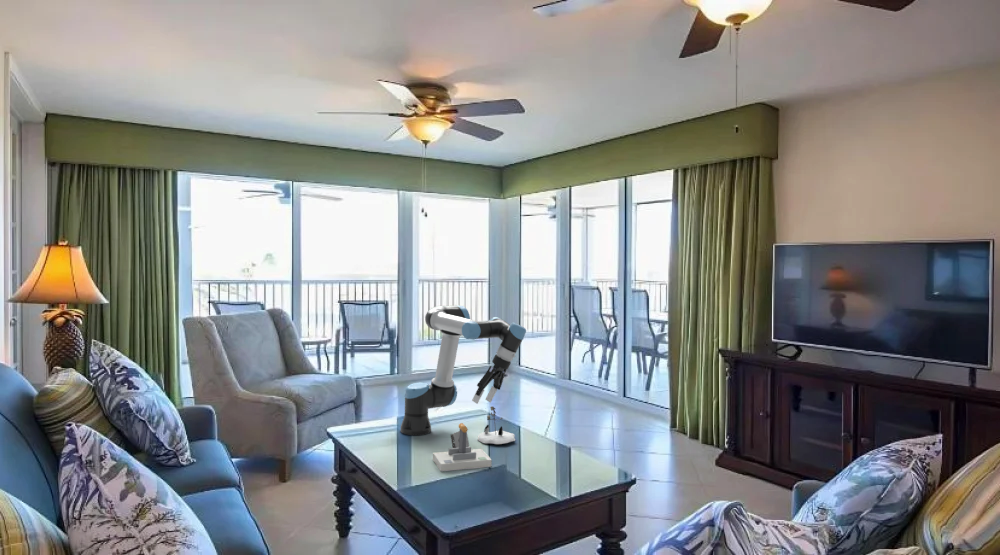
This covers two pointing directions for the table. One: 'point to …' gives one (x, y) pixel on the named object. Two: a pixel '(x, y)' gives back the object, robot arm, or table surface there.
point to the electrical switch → (457, 440)
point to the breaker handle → (462, 438)
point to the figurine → (495, 433)
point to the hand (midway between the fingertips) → (481, 401)
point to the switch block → (461, 459)
